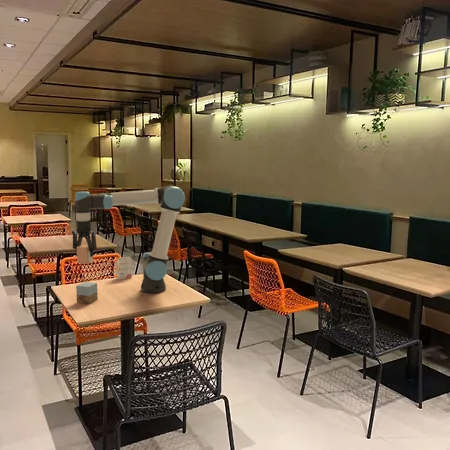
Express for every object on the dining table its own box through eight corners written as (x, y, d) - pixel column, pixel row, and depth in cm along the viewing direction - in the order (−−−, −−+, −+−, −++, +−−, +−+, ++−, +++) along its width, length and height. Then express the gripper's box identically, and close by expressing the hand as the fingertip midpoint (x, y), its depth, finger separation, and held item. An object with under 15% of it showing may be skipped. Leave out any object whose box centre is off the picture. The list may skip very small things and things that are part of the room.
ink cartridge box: (129, 276, 303) (129, 255, 301) (131, 278, 299) (131, 256, 297) (117, 277, 299) (116, 256, 297) (119, 279, 295) (118, 257, 293)
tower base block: (97, 300, 252) (97, 291, 252) (89, 304, 245) (89, 295, 244) (85, 299, 255) (84, 290, 254) (76, 303, 247) (76, 294, 246)
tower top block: (97, 291, 252) (97, 283, 251) (89, 295, 244) (88, 286, 243) (85, 290, 254) (84, 281, 253) (76, 294, 246) (76, 285, 245)
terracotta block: (93, 261, 248) (92, 245, 247) (87, 263, 242) (86, 247, 241) (83, 260, 250) (82, 245, 248) (77, 263, 244) (76, 247, 243)
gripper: (102, 220, 244) (104, 261, 247) (72, 218, 249) (74, 259, 252) (95, 221, 237) (96, 264, 240) (64, 220, 242) (66, 262, 245)
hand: (85, 261), depth 246 cm, fingers closed on terracotta block, 6 cm apart
